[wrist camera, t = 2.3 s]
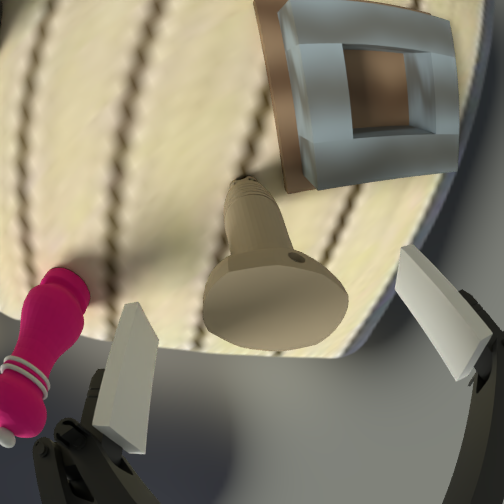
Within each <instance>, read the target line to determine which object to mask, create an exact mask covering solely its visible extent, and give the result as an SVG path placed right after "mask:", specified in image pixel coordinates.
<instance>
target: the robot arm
mask: <svg viewBox="0 0 504 504" xmlns="http://www.w3.org/2000/svg"><path fill="white" fill-rule="evenodd" d="M1 18H2V1H1V0H0V24H1ZM395 290H396V292H397V293H398V294H399V296H400V297H401V299H402V300H403V301H404V303H405V304H406V305H407V307H408V308H409V310H410V311H411V313H412V314H413V315H414V317H415V318H416V320H417V321H418V323H419V324H420V325H421V327H422V328H423V330H424V331H425V333H426V334H427V336H428V337H429V339H430V340H431V342H432V343H433V345H434V347H435V348H436V349H437V351H438V353H439V354H440V356H441V357H442V359H443V361H444V362H445V364H446V366H447V367H448V369H449V370H450V372H451V374H452V375H453V377H454V379H455V380H456V382H457V381H459V380H460V379H462V378H464V377H466V376H468V375H469V373H470V372H471V370H472V369H473V367H474V368H475V369H476V373H475V375H474V376H473V378H472V379H471V381H470V382H469V385H468V386H471V384H472V383H473V381H474V384H473V391H472V398H471V404H470V410H469V415H468V420H467V425H466V429H465V434H464V438H463V442H462V446H461V450H460V453H459V457H458V460H457V463H456V467H455V470H454V473H453V476H452V479H451V482H450V485H449V487H448V490H447V493H446V495H445V498H444V500H443V503H442V504H502V503H503V499H504V331H503V332H502V331H501V330H500V328H499V327H498V326H497V325H496V323H495V322H494V321H493V320H492V319H491V317H490V316H489V315H488V314H487V313H486V311H485V310H483V308H482V307H481V306H480V304H478V302H477V301H476V300H475V299H474V298H473V296H472V295H470V294H469V293H467V292H466V291H464V290H460V291H457V290H456V289H455V288H454V286H453V285H452V284H451V283H450V282H449V281H448V280H447V279H446V278H445V277H444V276H443V274H442V273H441V272H440V271H439V270H438V269H437V268H436V267H435V266H434V265H433V264H432V263H431V262H430V261H429V260H428V259H427V258H426V257H425V256H424V255H423V254H422V253H421V252H420V251H419V250H418V249H417V248H416V247H415V246H414V245H413V244H412V245H408V246H404V247H401V251H400V259H399V266H398V273H397V279H396V286H395ZM158 342H159V339H158V337H157V335H156V334H155V332H154V330H153V328H152V326H151V325H150V323H149V321H148V319H147V317H146V315H145V313H144V312H143V310H142V308H141V306H140V304H139V302H134V303H128V304H125V306H124V309H123V312H122V315H121V318H120V321H119V324H118V327H117V330H116V333H115V337H114V340H113V343H112V347H111V350H110V353H109V357H108V361H107V364H106V368H105V369H98V370H97V371H96V373H95V374H94V376H93V377H92V380H91V383H90V387H89V391H88V394H87V399H86V402H85V406H84V410H83V414H82V418H81V423H78V422H77V421H76V420H74V419H72V418H64V419H62V420H61V421H60V422H59V423H58V424H57V425H56V427H55V429H54V439H55V441H57V442H53V441H51V440H50V439H49V438H46V437H43V438H40V439H38V440H37V441H36V442H35V444H34V446H33V459H34V466H35V472H36V478H37V482H38V487H39V492H40V497H41V501H42V504H161V503H160V502H159V501H158V500H157V499H156V497H155V496H154V495H153V494H152V493H151V491H150V490H149V489H148V488H147V486H146V485H145V484H144V483H143V481H142V480H141V479H140V478H139V476H138V475H137V474H136V472H135V471H134V470H133V469H132V467H131V465H130V464H129V463H128V461H127V460H126V458H125V457H124V456H123V455H122V448H123V449H124V450H126V451H127V452H128V453H137V454H145V451H146V439H147V428H148V418H149V409H150V400H151V391H152V383H153V376H154V368H155V362H156V355H157V349H158Z"/></svg>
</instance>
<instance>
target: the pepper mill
mask: <svg viewBox="0 0 504 504" xmlns="http://www.w3.org/2000/svg"><path fill="white" fill-rule="evenodd" d="M89 301H90V293H89V290H88V288H87V286H86V284H85V283H84V281H83V280H82V279H81V278H80V277H79V276H78V275H77V274H75V273H74V272H72V271H70V270H67V269H65V268H54V269H51V270H49V271H48V272H47V274H46V275H45V276H44V278H43V279H42V281H41V283H40V285H38V286H35V287H34V288H32V289H31V290H30V291H29V293H28V295H27V297H26V299H25V301H24V304H23V308H22V313H21V325H20V334H19V338H18V341H17V344H16V347H15V349H14V351H13V353H12V355H11V356H7V357H5V359H4V364H3V365H1V369H0V370H1V373H2V374H0V444H1V445H2V446H4V447H6V448H11V447H13V446H14V445H15V436H18V437H22V438H30V437H34V436H36V435H38V434H39V433H40V432H41V430H42V429H43V427H44V425H45V423H46V418H47V412H46V408H45V405H44V403H43V400H44V399H46V398H47V396H48V393H47V392H48V390H49V389H50V383H49V381H48V378H49V374H50V371H51V369H52V367H53V365H54V363H55V362H56V361H57V359H58V358H59V357H60V356H61V355H62V354H63V353H64V352H65V351H66V350H68V349H69V348H70V347H71V346H72V345H73V344H74V343H75V342H76V341H77V339H78V338H79V336H80V334H81V332H82V330H83V326H84V317H83V314H84V313H85V311H86V309H87V306H88V304H89ZM14 435H15V436H14Z"/></svg>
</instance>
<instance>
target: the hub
mask: <svg viewBox="0 0 504 504" xmlns="http://www.w3.org/2000/svg"><path fill="white" fill-rule="evenodd" d="M253 5H254V9H255V14H256V19H257V23H258V28H259V33H260V38H261V43H262V49H263V54H264V59H265V65H266V70H267V76H268V81H269V87H270V93H271V99H272V105H273V111H274V117H275V123H276V129H277V136H278V142H279V149H280V156H281V163H282V170H283V177H284V185H285V190H286V192H287V194H290V193H296V192H301V191H307V190H313V189H317V190H324V189H330V188H336V187H342V186H349V185H355V184H362V183H368V182H375V181H382V180H389V179H397V178H404V177H412V176H420V175H429V174H437V173H447V172H456V171H457V168H458V153H459V93H458V78H457V68H456V59H455V51H454V44H453V38H452V32H451V27H450V21H448V20H445V19H442V18H438V17H435V16H431V14H430V13H426V12H422V11H418V10H414V9H410V8H405V7H400V6H395V5H390V4H384V3H378V2H371V1H364V0H254V1H253Z"/></svg>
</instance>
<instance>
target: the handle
mask: <svg viewBox="0 0 504 504" xmlns="http://www.w3.org/2000/svg"><path fill="white" fill-rule="evenodd" d="M224 224H225V230H226V234H227V239H228V243H229V247H230V252H231V255H230V256H228V257H226V258H225V259H223V260H222V261H221V262H220V263H219V264H218V265H217V266H216V267H215V268H214V269H213V271H212V272H211V274H210V276H209V278H208V281H207V283H206V285H205V291H204V296H203V320H204V323H205V326H206V327H207V329H208V331H209V332H211V333H213V334H215V335H216V336H218V337H220V338H222V339H224V340H226V341H228V342H230V343H232V344H234V345H237V346H240V347H244V348H249V349H256V350H265V351H287V350H293V349H298V348H303V347H308V346H312V345H316V344H318V343H320V342H321V341H323V340H324V339H326V338H327V337H328V336H329V335H330V334H331V333H332V332H333V331H334V330H335V329H336V328H337V327H338V325H339V324H340V323H341V321H342V319H343V318H344V316H345V314H346V311H347V308H348V302H349V300H348V294H347V292H346V290H345V289H344V287H343V285H342V284H341V282H340V281H339V280H338V279H337V278H336V277H335V276H334V275H333V274H332V273H331V272H330V271H329V270H328V269H327V268H325V267H324V266H323V265H322V264H320V263H319V262H317V261H316V260H314V259H313V258H311V257H309V256H307V255H306V254H304V253H302V252H299V251H296V250H294V249H293V246H292V243H291V241H290V238H289V235H288V232H287V229H286V226H285V223H284V220H283V217H282V214H281V212H280V209H279V207H278V205H277V203H276V202H275V200H274V198H273V197H272V196H271V194H270V193H269V192H268V191H267V189H266V188H265V187H263V186H262V185H261V184H259V183H258V182H257V180H256V179H255V178H254V177H251V176H247V177H246V178H244V179H242V180H233V181H232V182H231V183H230V190H229V191H228V194H227V196H226V199H225V204H224Z"/></svg>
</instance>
